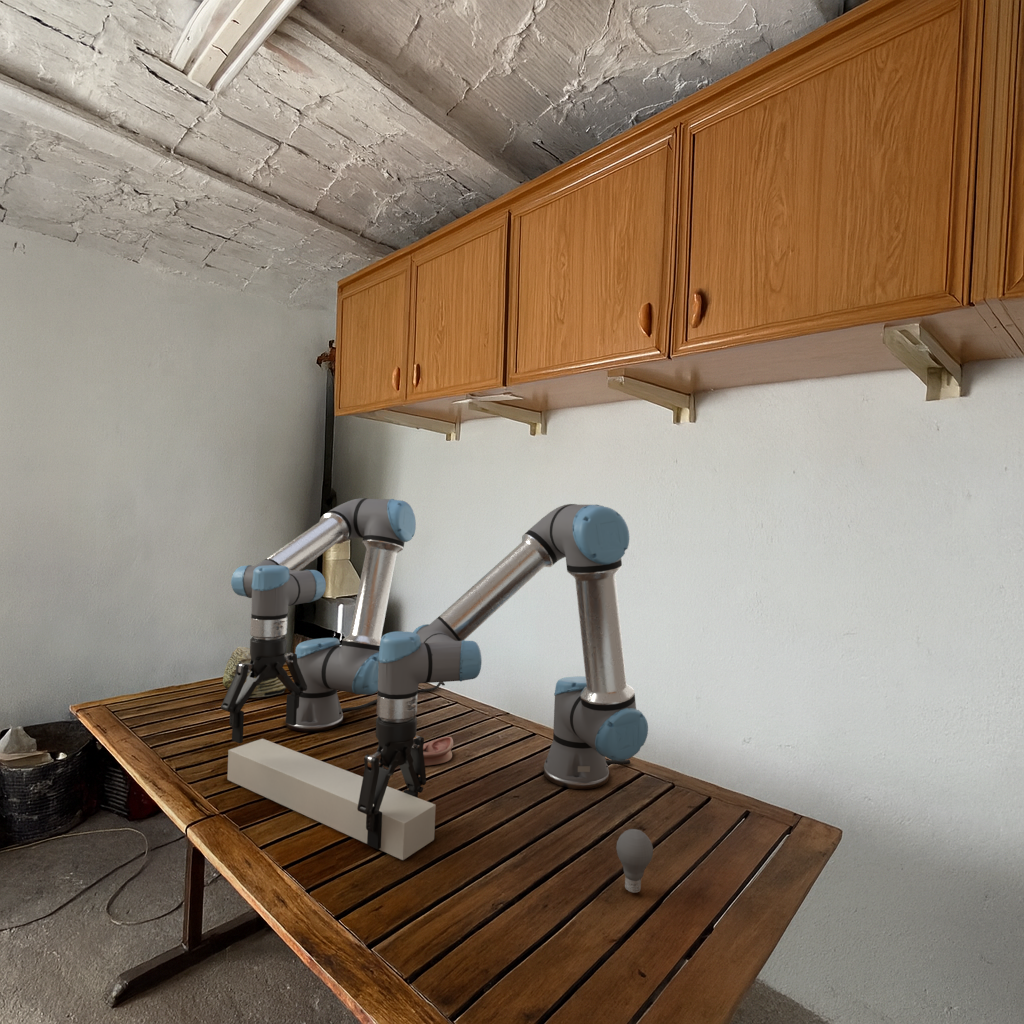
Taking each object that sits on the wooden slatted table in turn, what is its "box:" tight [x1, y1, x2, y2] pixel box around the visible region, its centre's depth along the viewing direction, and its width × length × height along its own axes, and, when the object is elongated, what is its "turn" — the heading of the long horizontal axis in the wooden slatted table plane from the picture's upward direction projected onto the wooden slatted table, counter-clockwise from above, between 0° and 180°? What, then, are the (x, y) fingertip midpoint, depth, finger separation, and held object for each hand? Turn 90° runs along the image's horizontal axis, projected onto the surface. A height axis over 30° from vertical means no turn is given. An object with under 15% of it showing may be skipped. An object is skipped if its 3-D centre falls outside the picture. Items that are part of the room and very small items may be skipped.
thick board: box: [226, 738, 437, 861], centre depth 129 cm, size 52×9×7 cm, turn 57°
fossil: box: [222, 646, 287, 699], centre depth 198 cm, size 9×18×15 cm, turn 132°
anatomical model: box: [423, 736, 454, 766], centre depth 156 cm, size 13×4×12 cm
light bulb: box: [615, 828, 654, 894], centre depth 106 cm, size 6×6×10 cm
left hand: (265, 732), depth 139 cm, fingers open, 13 cm apart
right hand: (391, 835), depth 119 cm, fingers closed on thick board, 9 cm apart
